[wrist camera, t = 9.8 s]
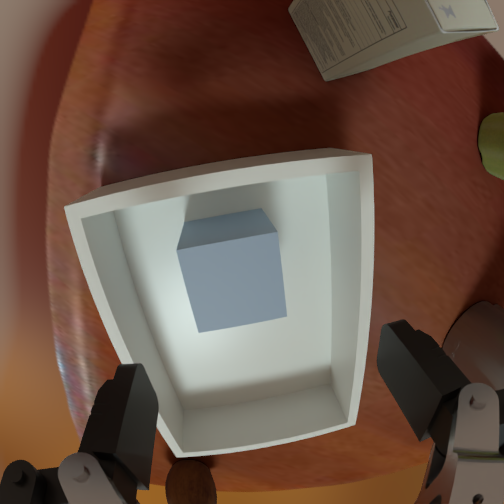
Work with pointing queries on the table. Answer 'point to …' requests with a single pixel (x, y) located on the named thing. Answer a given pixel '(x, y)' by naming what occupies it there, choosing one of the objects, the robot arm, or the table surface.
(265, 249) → the cube
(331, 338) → the tote
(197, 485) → the wooden figurine
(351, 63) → the skincare box
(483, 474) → the robot arm
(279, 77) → the table surface
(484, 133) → the plant pot
